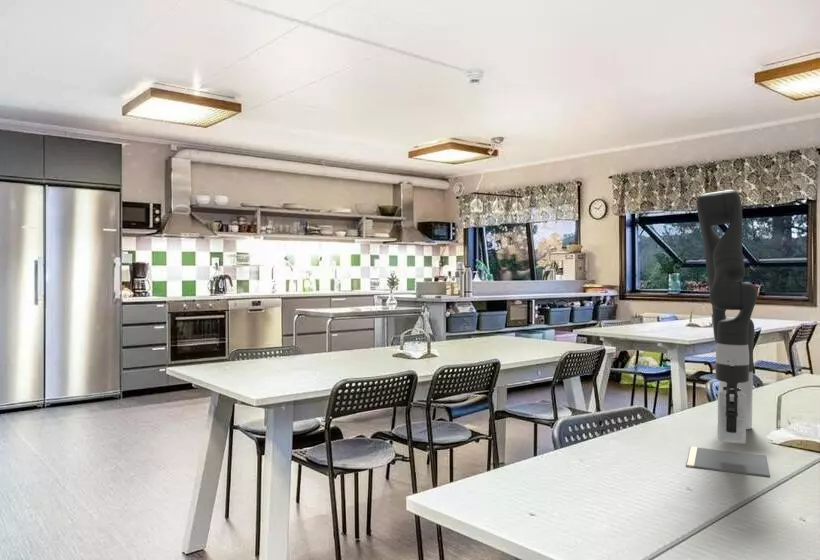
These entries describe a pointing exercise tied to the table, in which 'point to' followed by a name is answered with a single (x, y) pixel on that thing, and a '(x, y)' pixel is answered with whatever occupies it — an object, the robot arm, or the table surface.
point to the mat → (728, 461)
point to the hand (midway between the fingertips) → (731, 429)
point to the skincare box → (740, 425)
